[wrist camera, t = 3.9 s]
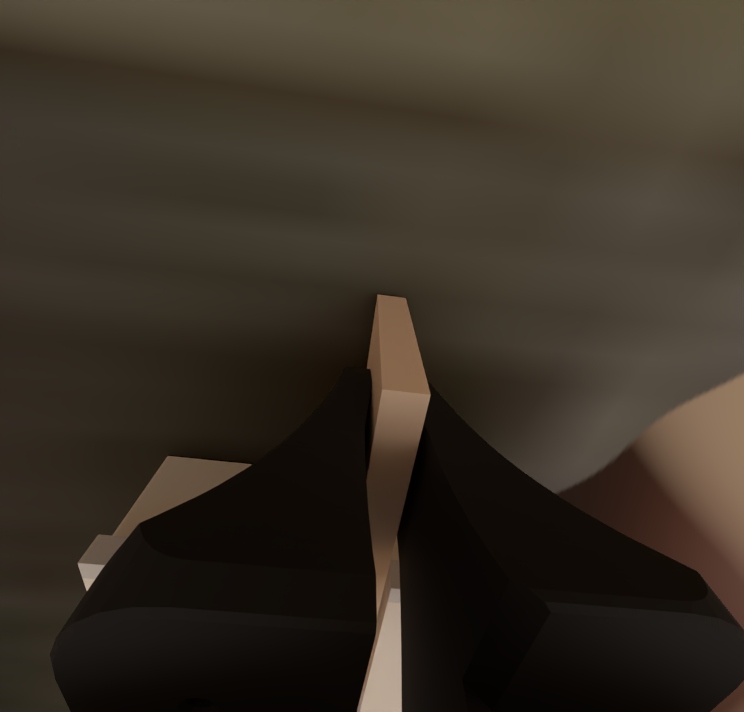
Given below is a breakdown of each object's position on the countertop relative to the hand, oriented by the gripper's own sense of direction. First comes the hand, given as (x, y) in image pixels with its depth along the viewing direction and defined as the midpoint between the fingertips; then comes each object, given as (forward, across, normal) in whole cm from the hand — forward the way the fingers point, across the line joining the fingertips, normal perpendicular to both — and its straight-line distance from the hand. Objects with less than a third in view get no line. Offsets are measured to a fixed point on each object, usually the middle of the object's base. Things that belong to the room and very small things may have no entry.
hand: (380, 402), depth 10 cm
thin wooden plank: (+2, 0, +4) cm, 5 cm away
